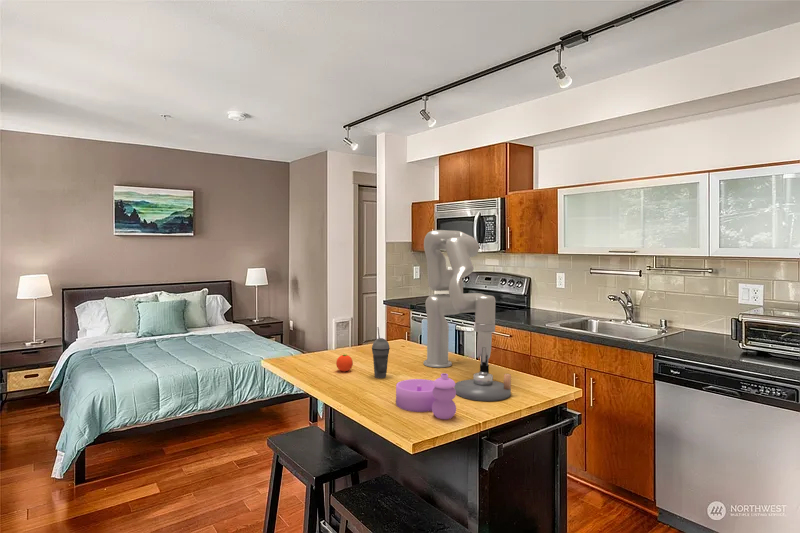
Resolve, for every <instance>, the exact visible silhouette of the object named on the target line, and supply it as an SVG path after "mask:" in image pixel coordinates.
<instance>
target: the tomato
mask: <svg viewBox="0 0 800 533" xmlns="http://www.w3.org/2000/svg"><path fill="white" fill-rule="evenodd" d="M335 362H336V363H335V364H336V368H337V369H338V371H340V372H343V373H344V372H348V371H350V370H351V369H352V368H353V366H354V365H353V364H354V363H353V358H352V357H351V356H350V355H348V354H342V355H340V356H338V358H337V359H336V361H335Z"/></svg>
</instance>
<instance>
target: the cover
mask: <svg viewBox="0 0 800 533" xmlns="http://www.w3.org/2000/svg"><path fill="white" fill-rule="evenodd" d="M493 377H494V375H493V374H491V373H487V372H485V371H480V370H479V372H476V373H473V378H472V379H473V383H474V384H476V385H481V386H489V385H492V384H493V381H494V380H493Z"/></svg>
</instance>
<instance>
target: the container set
mask: <svg viewBox="0 0 800 533" xmlns="http://www.w3.org/2000/svg"><path fill="white" fill-rule="evenodd" d="M455 383H456V382H455V380H453V379H452V378H450V377H449V374H448V373H443V372H442V373H441V374H440V377H438V378H436V379H434V380H432V379H426V378H425V379H424V378H423V379H422V378H415V379H414V378H412V379H411V378H410V379H405V380H401V381H398V382H397V383H396V385H395V397H396V398H395V405H396V407H397V408H399V409H401V410H403V411H409V412H414V413H415V412H416V413H417V412H418V413H419V412H420V413H427V411H428V412H432V413H433V415H434V417H435V418H437V419H439V418H440V419H439V420H450V419H452V418H453V417H454V416H455V414H456V413H457V405H456V403H455V401H453V400H454V399H455V397H456V395H457V394H456V390H455V388H454V387H455ZM449 418H450V419H449Z"/></svg>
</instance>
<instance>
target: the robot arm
mask: <svg viewBox="0 0 800 533" xmlns="http://www.w3.org/2000/svg"><path fill="white" fill-rule="evenodd" d="M479 246H480V245H479V243H478V241H477V240H476V238H474V237H473V236H471V235H470V234H467V233H465V232H463V231H460V230H446V229H445V230H444V229H433V230H430V231H429V232H427V233H426V235H425V236H424V239H423V249H424V254H425V257H426V266H427V267H426V268H427V284H428V287H429V289H430V290H431V291H436V292H445V291H446V292H448V293H435V294H431V295H429V296H428V297H427V298H426V300H425V302H424V303H425V304H424V305H425V311H426V318H427V319H426V320H427V328H426V329H427V331H426V333H427V334H426V336H427V337H426V339H427V340H426V346H427V347H426V359H425V360H423V365H424V366H426V367H429V368H439V369H440V368H449V367H450V366H452V365H453V364H452V361H451V360H449V339H450V338H449V336H450V335H449V329H450V328H449V327H450V326H449V323H448V320H447V319H446V317H445V316H452V315H453V316H454V315H458V314H463V313H465V314H467V313H468V314H469V313H474V318H475V319H474V322H475V323H474V331H475V332H476V333H477V336H476V358H477V359H479V358H480V364H479V372H480V371H485V372H487V373H489V372H490V371H489V370H490V367H489V366H490V365H489V359H490V358H491V354H492V353H491V352H492V336H493V333H495V332H496V298H495V296H494V295H488V294H484V293H481V292H479V293H478V292H473V293H471V292H470V293H469V292H468V293H464V283H463V279H464V278H466V277H467V276H469V275H470V274H472V273H473V271H474V265H473V262H472V260H471V258H473V257H476V256H477V255H478V253H479V250H480V247H479ZM441 250H445V251H446V256H447V257H448V260H449V264H450V266H451V269H447V260H446V257H445V255H444V253H443V252H442V251H441ZM489 374H490V373H489Z"/></svg>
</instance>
